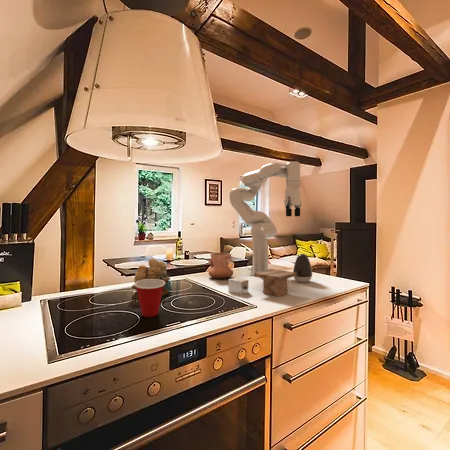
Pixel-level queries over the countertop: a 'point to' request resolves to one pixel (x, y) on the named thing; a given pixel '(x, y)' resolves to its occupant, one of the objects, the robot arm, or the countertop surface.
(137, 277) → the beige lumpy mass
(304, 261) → the dark egg shaped dome
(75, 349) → the countertop surface
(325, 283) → the countertop surface
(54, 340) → the countertop surface
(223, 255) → the ceramic jug
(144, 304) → the plastic cup
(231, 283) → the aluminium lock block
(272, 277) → the walnut stand
